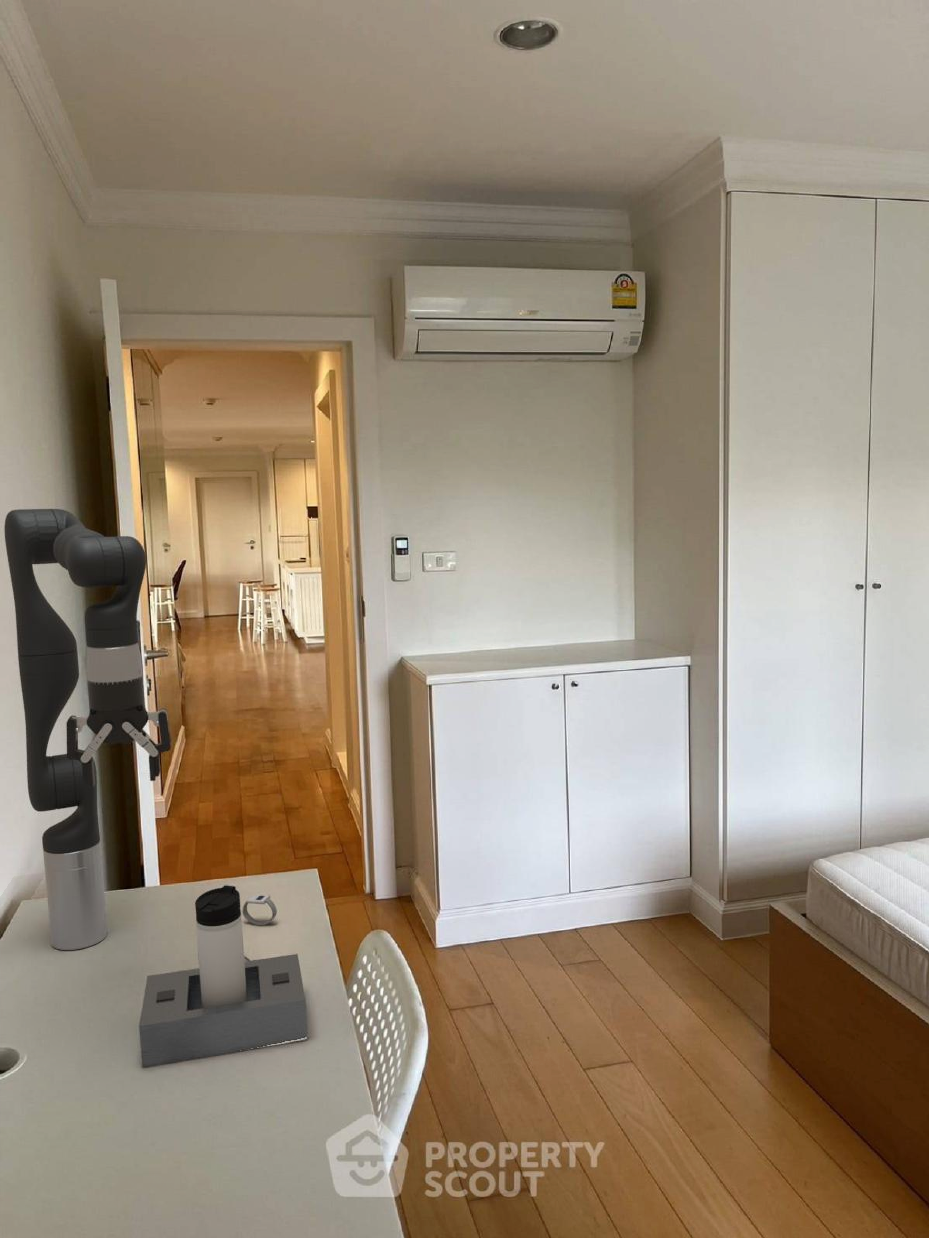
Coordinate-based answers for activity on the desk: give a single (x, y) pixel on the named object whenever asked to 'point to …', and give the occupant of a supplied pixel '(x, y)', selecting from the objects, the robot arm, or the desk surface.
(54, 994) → the desk surface
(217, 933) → the travel mug
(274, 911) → the wristwatch
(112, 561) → the robot arm
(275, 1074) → the desk surface
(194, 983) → the grey slotted block
